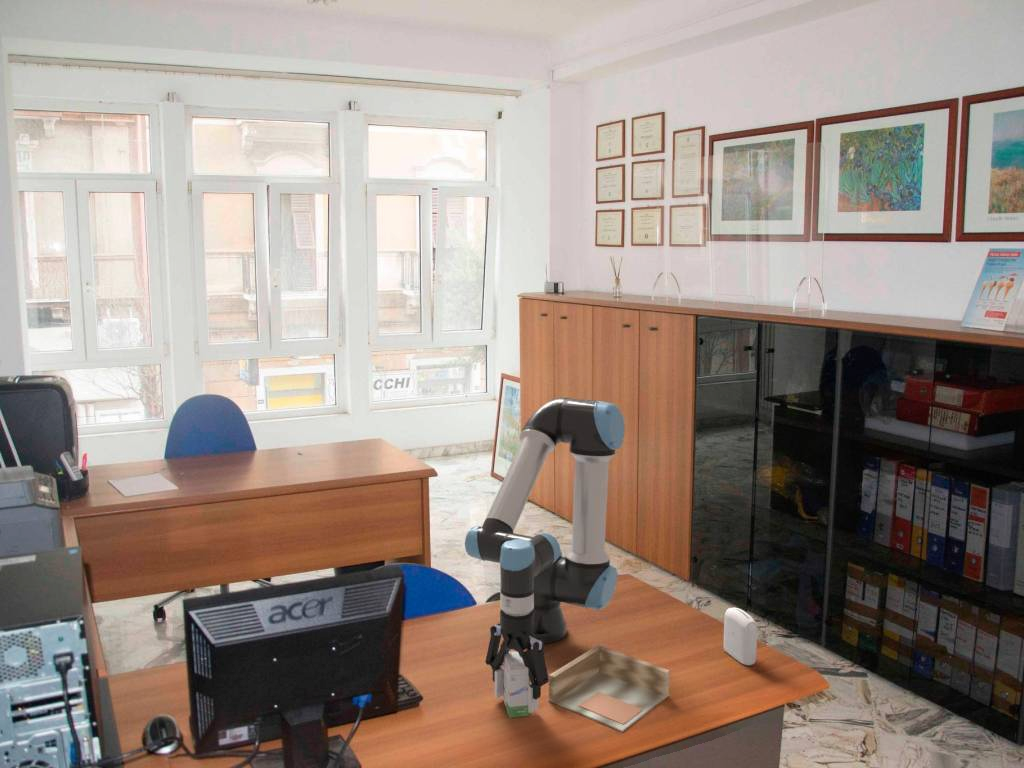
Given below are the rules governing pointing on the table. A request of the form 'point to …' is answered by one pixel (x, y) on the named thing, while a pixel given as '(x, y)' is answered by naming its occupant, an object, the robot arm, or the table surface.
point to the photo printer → (740, 636)
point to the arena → (609, 683)
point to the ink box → (515, 685)
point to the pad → (610, 708)
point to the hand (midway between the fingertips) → (516, 702)
